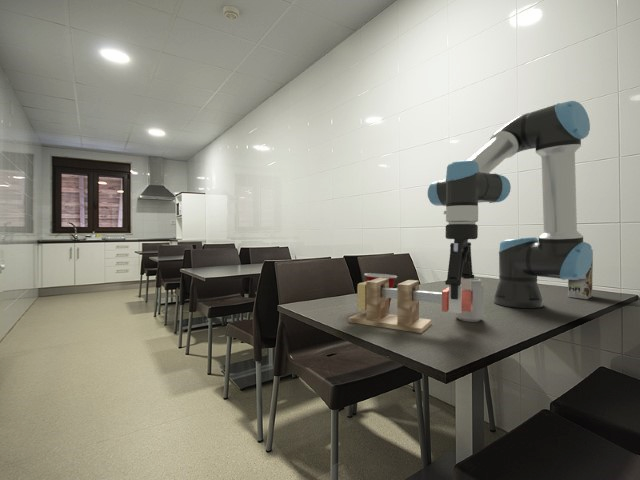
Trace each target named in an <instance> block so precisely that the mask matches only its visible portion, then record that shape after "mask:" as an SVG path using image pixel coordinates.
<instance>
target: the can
mask: <svg viewBox="0 0 640 480" xmlns="http://www.w3.org/2000/svg"><path fill="white" fill-rule="evenodd" d="M469 279H471V290H473V310H472V311H471V312H467V311H461V313H455V317H457V319H458V320H461V321H463V322H468V323H476V322H477V323H478V322H480V321H481V320H482V319H483V318H484V284H483V283H482V282H481V281H482V280H481V279H480V278H475V277H474V279H473V278H469Z"/></svg>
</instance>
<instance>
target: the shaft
mask: <svg viewBox="0 0 640 480" xmlns="http://www.w3.org/2000/svg"><path fill="white" fill-rule="evenodd" d="M356 288H357V289H356V290H357V291H356V292H357V296H358V286H357V287H356ZM381 297H385V298H391V299H397V287H396V288H395V287H393V288H385V287H381ZM412 300H414V301H419V302H423V303H424V302H425V303H433V304H434V303H435V304H441V312H444V313H448V312H449V286H448V287H447V288H445V289H443V290H442V291H441V292H440V291H428V290H420V289H419V290H412ZM472 310H473V290H467V289H462V299H461V311H467V312H471V311H472Z"/></svg>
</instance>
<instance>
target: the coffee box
mask: <svg viewBox="0 0 640 480" xmlns="http://www.w3.org/2000/svg"><path fill="white" fill-rule="evenodd" d="M593 259H594V258H593ZM593 259H592V263H591V266H590V269H589V271H588V272H587V274H586V275H585V276H584V277H583V278H581V279H578V280H568V279H567V283H568V284H567V286H568V287H567V297H568V298H575V299H583V300H588V299H590V298H592V297H593V272H594V269H593V268H594V266H593V263H594V260H593Z"/></svg>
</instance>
